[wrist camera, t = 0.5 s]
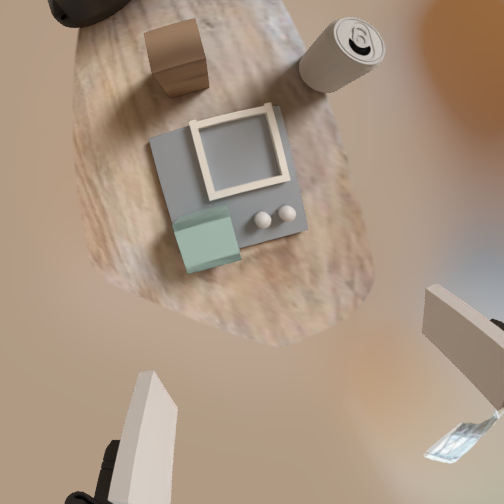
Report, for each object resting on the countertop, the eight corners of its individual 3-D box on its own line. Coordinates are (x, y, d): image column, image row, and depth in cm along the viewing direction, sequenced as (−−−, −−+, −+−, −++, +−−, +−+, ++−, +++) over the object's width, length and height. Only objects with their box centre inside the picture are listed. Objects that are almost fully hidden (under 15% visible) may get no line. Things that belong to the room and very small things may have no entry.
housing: (178, 216, 33) (171, 225, 28) (226, 203, 33) (227, 209, 28) (191, 260, 34) (187, 274, 30) (238, 247, 35) (241, 259, 30)
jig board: (150, 137, 31) (143, 134, 28) (276, 104, 31) (282, 98, 28) (186, 260, 36) (183, 268, 33) (305, 227, 36) (313, 233, 33)
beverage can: (294, 87, 31) (327, 54, 19) (300, 46, 29) (332, 5, 18) (339, 100, 32) (388, 77, 20) (344, 60, 30) (389, 28, 18)
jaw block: (162, 65, 28) (143, 33, 18) (200, 54, 28) (195, 18, 19) (170, 98, 30) (151, 73, 20) (209, 87, 30) (205, 58, 20)
